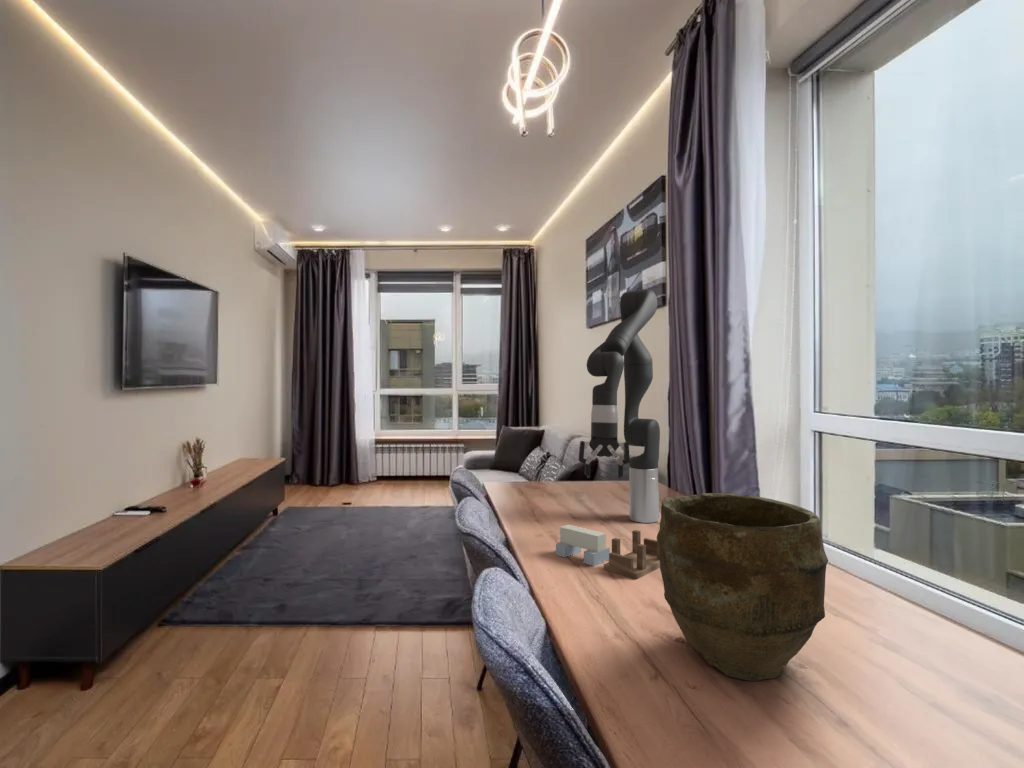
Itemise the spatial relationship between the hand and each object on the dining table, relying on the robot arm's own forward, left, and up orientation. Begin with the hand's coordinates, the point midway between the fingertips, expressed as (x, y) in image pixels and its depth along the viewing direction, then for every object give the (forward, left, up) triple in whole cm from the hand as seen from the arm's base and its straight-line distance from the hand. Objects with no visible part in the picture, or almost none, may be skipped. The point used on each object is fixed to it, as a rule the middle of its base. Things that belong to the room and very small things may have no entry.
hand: (603, 478), depth 146 cm
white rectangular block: (+15, +4, -15) cm, 22 cm away
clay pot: (+37, +51, -18) cm, 66 cm away
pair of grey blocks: (+15, +4, -18) cm, 24 cm away
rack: (+10, +17, -18) cm, 27 cm away
